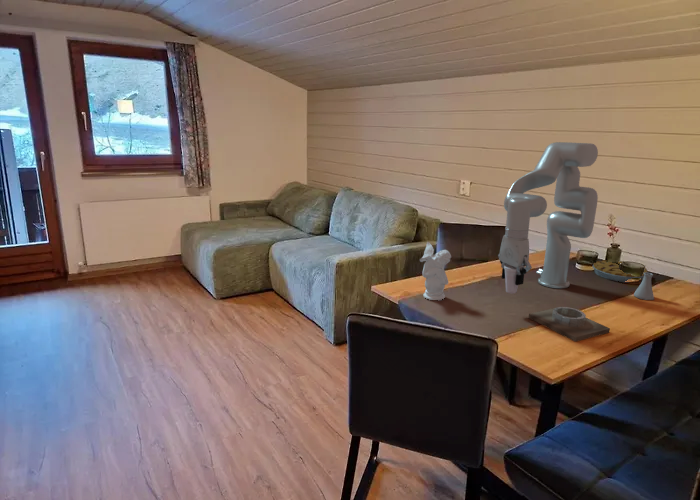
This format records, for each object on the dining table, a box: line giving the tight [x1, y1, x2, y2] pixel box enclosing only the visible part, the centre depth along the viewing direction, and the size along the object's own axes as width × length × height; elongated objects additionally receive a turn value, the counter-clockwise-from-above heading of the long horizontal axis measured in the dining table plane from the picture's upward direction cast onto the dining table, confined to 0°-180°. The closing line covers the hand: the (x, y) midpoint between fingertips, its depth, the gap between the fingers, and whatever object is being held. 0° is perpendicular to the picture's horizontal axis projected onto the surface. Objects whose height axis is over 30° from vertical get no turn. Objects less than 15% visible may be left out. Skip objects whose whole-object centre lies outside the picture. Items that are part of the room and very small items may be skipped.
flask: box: [633, 272, 655, 301], centre depth 182 cm, size 7×7×10 cm
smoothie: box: [504, 264, 522, 294], centre depth 165 cm, size 6×6×14 cm
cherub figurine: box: [419, 241, 452, 301], centre depth 180 cm, size 12×12×22 cm
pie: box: [592, 259, 649, 283], centre depth 208 cm, size 22×22×5 cm
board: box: [528, 306, 611, 342], centre depth 159 cm, size 20×16×2 cm
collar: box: [552, 306, 587, 327], centre depth 158 cm, size 10×10×3 cm
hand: (512, 280), depth 166 cm, fingers closed on smoothie, 6 cm apart
